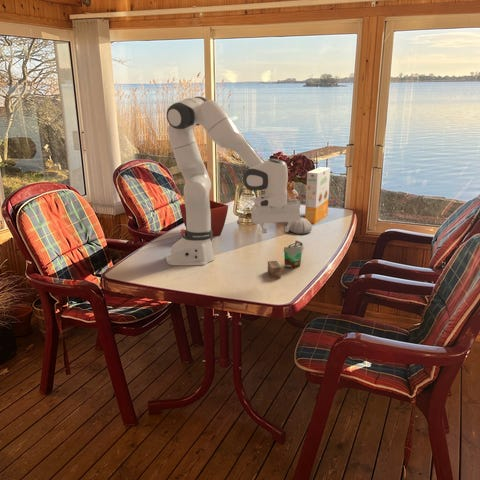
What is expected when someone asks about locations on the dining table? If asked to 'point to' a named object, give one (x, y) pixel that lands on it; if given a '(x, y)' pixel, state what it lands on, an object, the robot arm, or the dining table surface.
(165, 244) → the dining table surface
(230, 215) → the dining table surface
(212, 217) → the plant pot
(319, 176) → the cereal box
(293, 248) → the food container
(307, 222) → the sea urchin shell
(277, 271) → the walnut block
